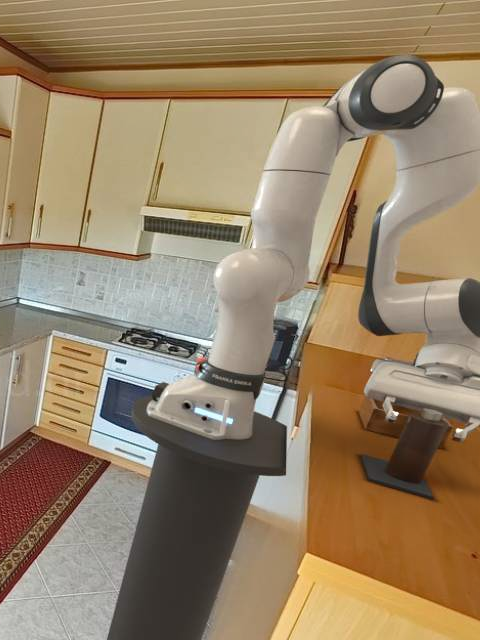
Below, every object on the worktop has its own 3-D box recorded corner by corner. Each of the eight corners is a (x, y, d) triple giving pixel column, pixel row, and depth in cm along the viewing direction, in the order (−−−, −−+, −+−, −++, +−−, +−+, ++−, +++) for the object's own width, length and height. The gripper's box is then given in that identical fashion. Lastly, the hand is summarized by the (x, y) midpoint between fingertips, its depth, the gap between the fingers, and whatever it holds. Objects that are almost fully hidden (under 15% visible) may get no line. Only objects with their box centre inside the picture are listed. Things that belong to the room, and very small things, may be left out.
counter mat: (368, 480, 88) (369, 477, 88) (360, 456, 97) (361, 453, 97) (432, 499, 83) (434, 496, 83) (417, 472, 93) (419, 469, 93)
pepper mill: (377, 468, 91) (406, 405, 87) (399, 468, 93) (428, 405, 88) (405, 483, 87) (437, 417, 82) (428, 483, 88) (460, 417, 83)
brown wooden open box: (365, 429, 112) (374, 408, 110) (358, 411, 123) (366, 392, 121) (442, 449, 105) (453, 426, 103) (427, 428, 116) (437, 408, 114)
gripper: (379, 346, 96) (355, 403, 92) (529, 376, 83) (508, 444, 80) (372, 363, 100) (349, 418, 97) (513, 395, 88) (492, 459, 84)
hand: (422, 430), depth 88 cm, fingers open, 8 cm apart
